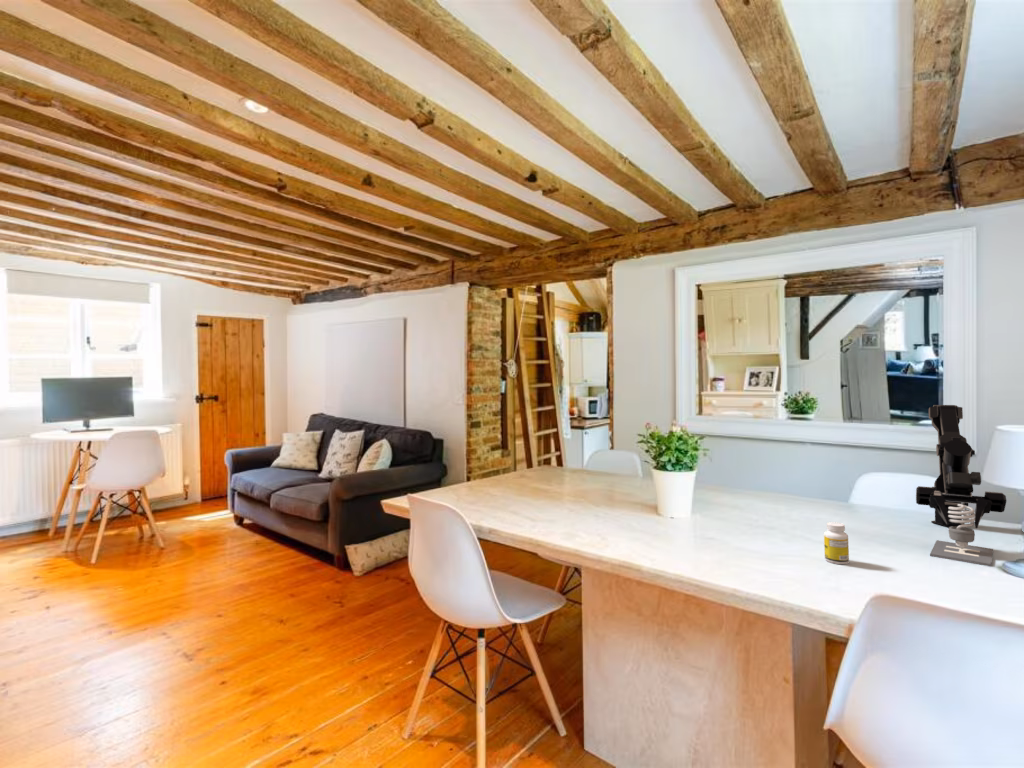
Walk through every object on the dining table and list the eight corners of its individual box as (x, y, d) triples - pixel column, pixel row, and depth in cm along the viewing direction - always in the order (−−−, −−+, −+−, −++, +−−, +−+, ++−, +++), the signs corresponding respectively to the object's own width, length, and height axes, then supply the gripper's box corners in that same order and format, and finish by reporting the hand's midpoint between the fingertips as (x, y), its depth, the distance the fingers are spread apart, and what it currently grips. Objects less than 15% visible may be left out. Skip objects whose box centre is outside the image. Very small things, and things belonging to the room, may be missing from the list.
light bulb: (972, 553, 136) (971, 507, 136) (945, 548, 141) (944, 504, 141) (978, 548, 140) (977, 504, 140) (951, 543, 144) (951, 500, 144)
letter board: (936, 542, 150) (936, 539, 150) (993, 551, 142) (993, 548, 142) (930, 555, 138) (930, 553, 138) (991, 566, 130) (991, 563, 130)
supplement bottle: (826, 556, 139) (825, 520, 139) (850, 560, 136) (849, 523, 136) (822, 562, 135) (822, 524, 135) (847, 566, 132) (846, 527, 132)
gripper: (915, 458, 149) (918, 504, 140) (1004, 463, 138) (1014, 513, 129) (914, 480, 155) (917, 526, 146) (999, 487, 144) (1008, 536, 135)
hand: (962, 525), depth 139 cm, fingers closed on light bulb, 5 cm apart
